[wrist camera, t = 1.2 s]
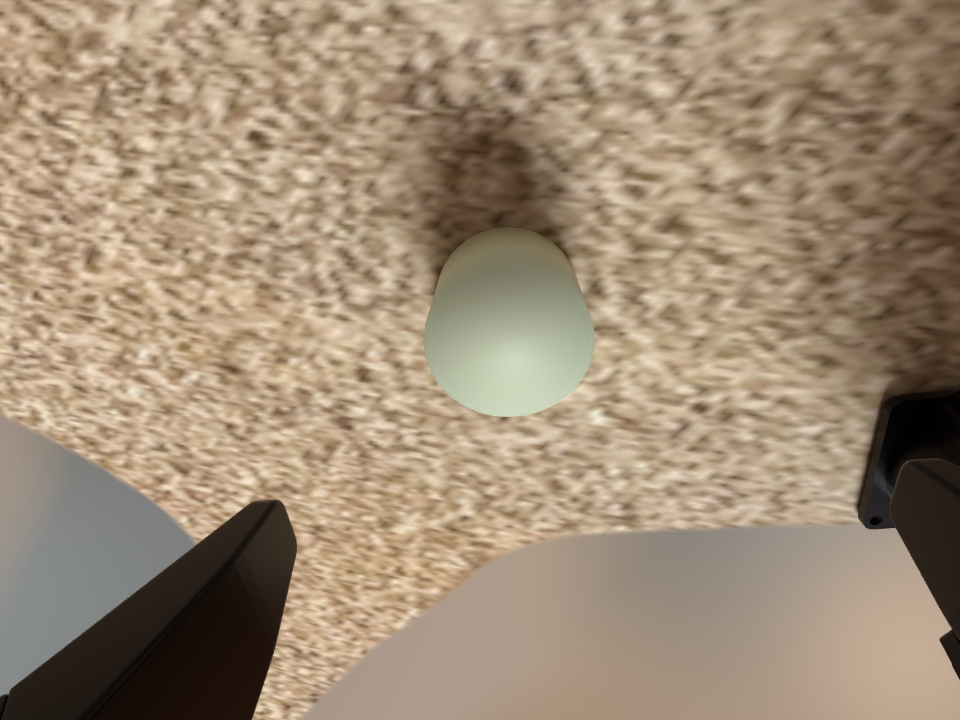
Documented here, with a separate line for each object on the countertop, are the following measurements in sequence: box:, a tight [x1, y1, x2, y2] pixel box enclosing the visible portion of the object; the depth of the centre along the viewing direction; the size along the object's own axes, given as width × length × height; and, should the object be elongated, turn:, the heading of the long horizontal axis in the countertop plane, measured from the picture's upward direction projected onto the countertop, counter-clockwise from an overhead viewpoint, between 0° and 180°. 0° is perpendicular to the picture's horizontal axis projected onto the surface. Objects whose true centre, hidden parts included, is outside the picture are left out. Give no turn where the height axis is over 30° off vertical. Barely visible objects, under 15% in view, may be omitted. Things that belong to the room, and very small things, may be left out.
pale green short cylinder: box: [424, 227, 594, 417], centre depth 18 cm, size 5×5×4 cm
